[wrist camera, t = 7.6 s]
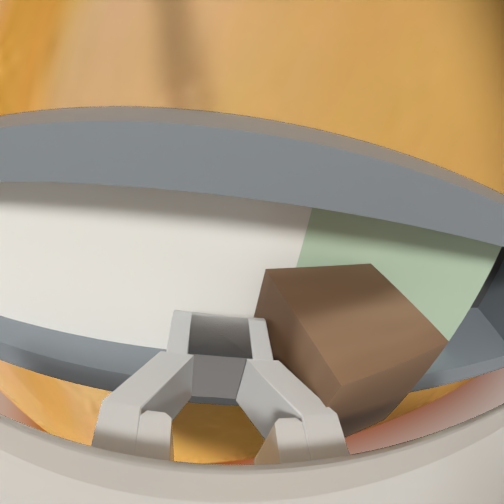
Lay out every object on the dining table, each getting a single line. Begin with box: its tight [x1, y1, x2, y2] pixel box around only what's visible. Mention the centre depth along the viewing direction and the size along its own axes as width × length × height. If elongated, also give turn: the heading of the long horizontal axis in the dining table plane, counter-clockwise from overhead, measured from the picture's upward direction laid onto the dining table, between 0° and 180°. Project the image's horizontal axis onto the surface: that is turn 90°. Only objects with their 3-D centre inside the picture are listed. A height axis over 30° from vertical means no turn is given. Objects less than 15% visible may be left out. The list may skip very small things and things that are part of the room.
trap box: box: [0, 106, 504, 405], centre depth 11 cm, size 10×40×6 cm, turn 81°
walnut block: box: [254, 264, 449, 438], centre depth 8 cm, size 4×4×4 cm
